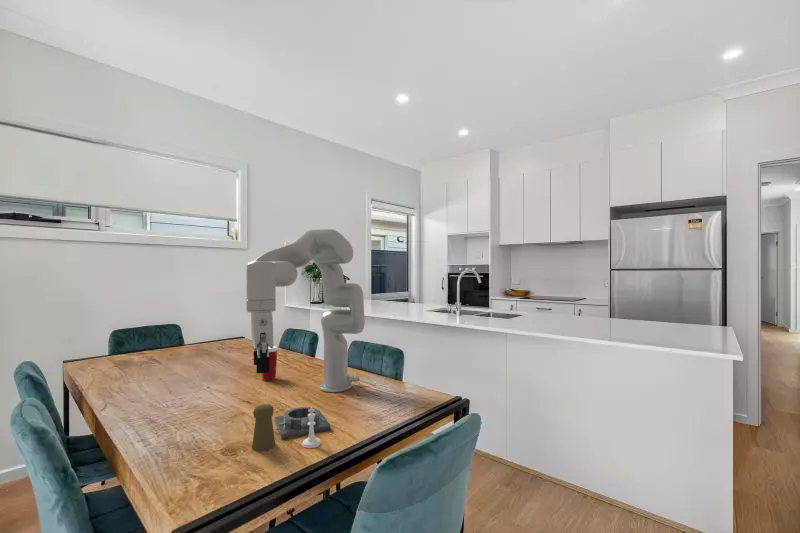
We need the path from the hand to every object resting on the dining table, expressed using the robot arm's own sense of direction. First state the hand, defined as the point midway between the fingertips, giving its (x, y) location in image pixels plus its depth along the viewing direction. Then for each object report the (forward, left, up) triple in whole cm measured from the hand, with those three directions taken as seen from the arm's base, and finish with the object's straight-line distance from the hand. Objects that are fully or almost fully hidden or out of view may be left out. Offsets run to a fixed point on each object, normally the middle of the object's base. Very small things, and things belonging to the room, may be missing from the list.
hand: (261, 368), depth 105 cm
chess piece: (-12, +6, -21) cm, 25 cm away
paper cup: (-10, -65, -21) cm, 69 cm away
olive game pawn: (-1, +1, -21) cm, 21 cm away
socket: (-13, -8, -21) cm, 26 cm away
